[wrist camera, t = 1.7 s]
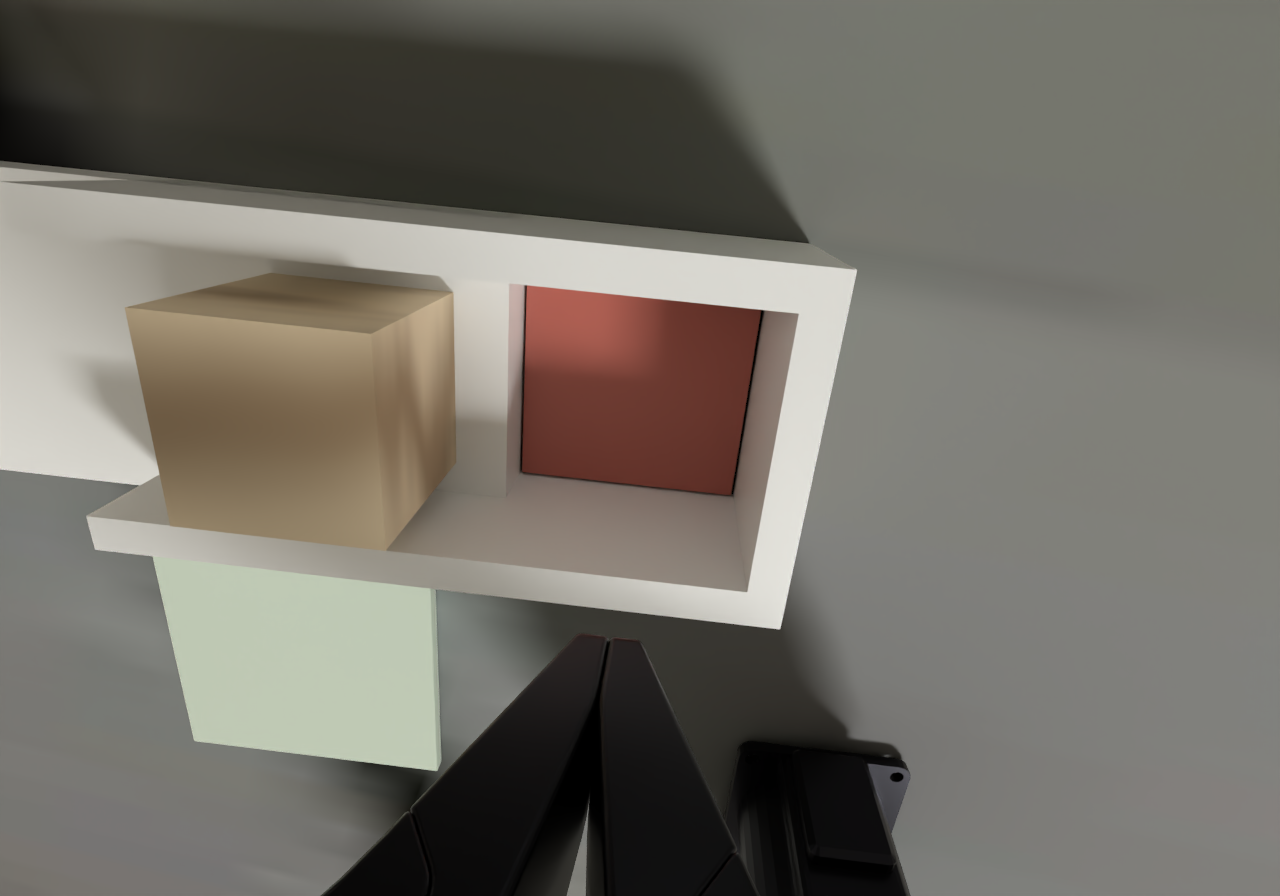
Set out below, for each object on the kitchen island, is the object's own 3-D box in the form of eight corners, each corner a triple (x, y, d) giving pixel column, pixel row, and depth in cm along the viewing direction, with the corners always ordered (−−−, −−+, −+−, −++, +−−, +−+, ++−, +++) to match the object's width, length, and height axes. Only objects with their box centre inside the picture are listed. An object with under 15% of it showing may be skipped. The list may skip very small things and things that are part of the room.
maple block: (456, 462, 20) (385, 551, 15) (290, 443, 20) (170, 526, 15) (453, 292, 18) (371, 334, 13) (269, 272, 18) (124, 307, 13)
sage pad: (441, 760, 27) (436, 771, 27) (202, 731, 27) (194, 741, 27) (434, 551, 23) (429, 558, 23) (156, 519, 23) (145, 526, 23)
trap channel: (758, 524, 22) (780, 629, 17) (-29, 435, 23) (-235, 511, 18) (810, 243, 19) (857, 269, 13) (-122, 148, 19) (-412, 139, 14)
